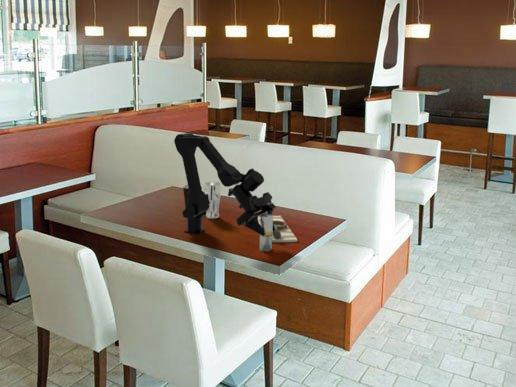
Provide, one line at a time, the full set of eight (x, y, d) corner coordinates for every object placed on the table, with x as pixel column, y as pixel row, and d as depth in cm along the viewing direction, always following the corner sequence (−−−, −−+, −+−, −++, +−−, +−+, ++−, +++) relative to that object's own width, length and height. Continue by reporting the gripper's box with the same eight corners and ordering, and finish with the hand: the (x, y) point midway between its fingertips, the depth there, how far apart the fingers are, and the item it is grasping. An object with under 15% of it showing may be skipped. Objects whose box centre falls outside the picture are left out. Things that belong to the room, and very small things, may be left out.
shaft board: (297, 241, 223) (297, 232, 222) (264, 242, 221) (264, 233, 220) (280, 217, 254) (280, 209, 253) (251, 218, 252) (251, 209, 251)
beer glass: (201, 217, 250) (201, 183, 247) (209, 213, 256) (210, 180, 253) (214, 220, 247) (215, 186, 243) (223, 216, 253) (223, 183, 249)
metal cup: (270, 252, 211) (271, 218, 208) (257, 250, 213) (259, 216, 209) (273, 247, 216) (274, 214, 213) (261, 246, 217) (262, 213, 214)
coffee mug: (192, 204, 271) (192, 183, 268) (205, 207, 265) (206, 186, 263) (174, 208, 262) (174, 187, 259) (187, 212, 257) (187, 190, 254)
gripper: (244, 191, 203) (269, 227, 200) (272, 181, 218) (296, 215, 215) (225, 208, 209) (250, 243, 206) (254, 198, 224) (277, 231, 221)
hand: (269, 232), depth 212 cm, fingers open, 7 cm apart
